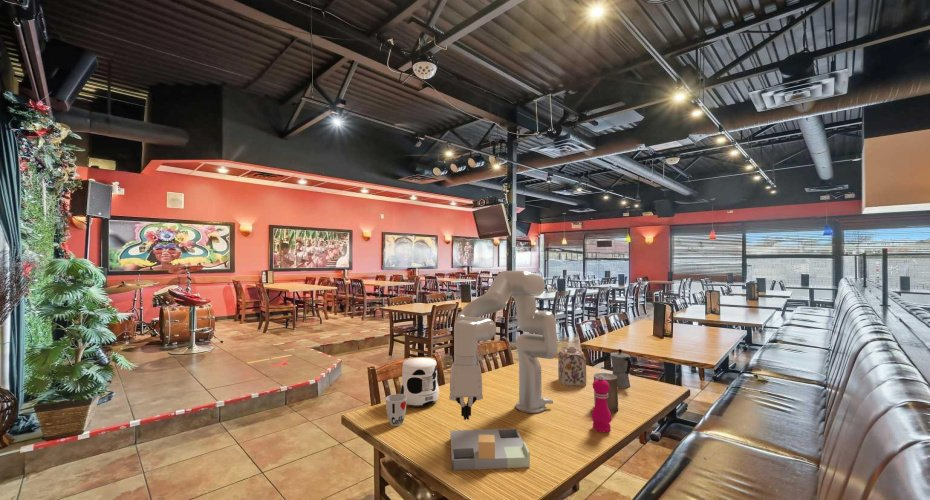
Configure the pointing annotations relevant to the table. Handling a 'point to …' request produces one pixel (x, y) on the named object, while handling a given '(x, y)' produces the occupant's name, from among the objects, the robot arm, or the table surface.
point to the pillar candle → (610, 390)
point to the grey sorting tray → (506, 450)
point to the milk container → (420, 381)
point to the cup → (396, 408)
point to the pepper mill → (601, 406)
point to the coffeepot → (621, 368)
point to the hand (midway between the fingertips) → (466, 418)
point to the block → (486, 447)
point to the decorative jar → (572, 367)
